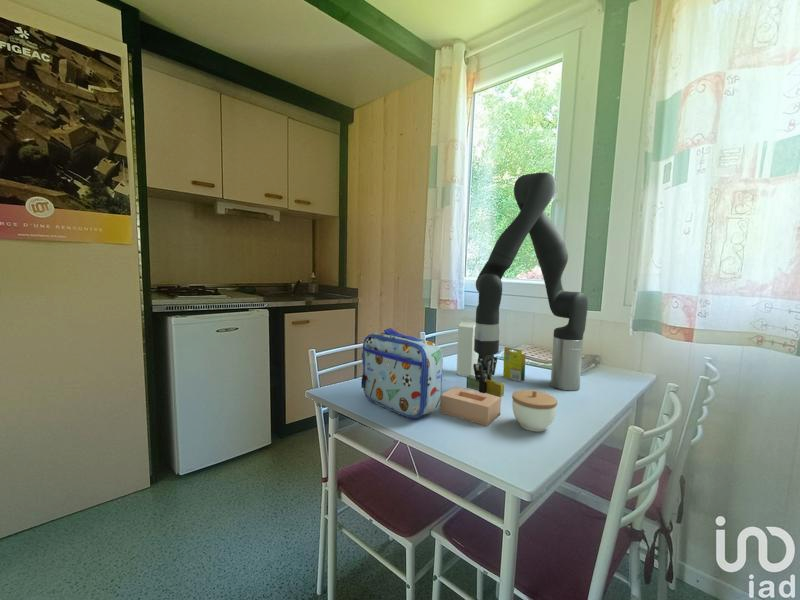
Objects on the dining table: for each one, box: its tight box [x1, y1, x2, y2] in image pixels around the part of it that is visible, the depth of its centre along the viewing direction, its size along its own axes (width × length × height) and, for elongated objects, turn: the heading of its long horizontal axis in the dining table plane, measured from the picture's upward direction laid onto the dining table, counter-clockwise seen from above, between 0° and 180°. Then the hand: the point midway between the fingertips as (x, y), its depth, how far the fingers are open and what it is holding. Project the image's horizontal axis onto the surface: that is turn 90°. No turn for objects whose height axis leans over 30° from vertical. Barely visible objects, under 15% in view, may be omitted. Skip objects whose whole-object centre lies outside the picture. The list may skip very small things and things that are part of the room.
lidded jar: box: [511, 389, 558, 432], centre depth 90 cm, size 11×11×9 cm
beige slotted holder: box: [439, 386, 502, 427], centre depth 97 cm, size 9×14×5 cm, turn 54°
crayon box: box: [502, 346, 526, 383], centre depth 130 cm, size 7×3×12 cm, turn 40°
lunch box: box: [360, 327, 444, 419], centre depth 100 cm, size 28×10×22 cm, turn 44°
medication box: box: [465, 375, 505, 398], centre depth 111 cm, size 12×3×4 cm, turn 49°
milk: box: [456, 316, 479, 377], centre depth 134 cm, size 6×6×22 cm
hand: (484, 390), depth 111 cm, fingers closed on medication box, 3 cm apart
